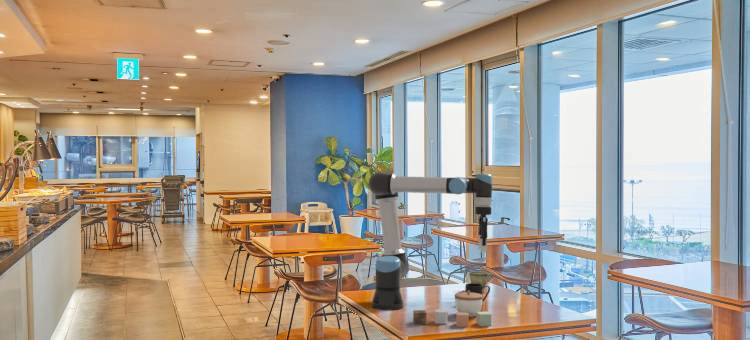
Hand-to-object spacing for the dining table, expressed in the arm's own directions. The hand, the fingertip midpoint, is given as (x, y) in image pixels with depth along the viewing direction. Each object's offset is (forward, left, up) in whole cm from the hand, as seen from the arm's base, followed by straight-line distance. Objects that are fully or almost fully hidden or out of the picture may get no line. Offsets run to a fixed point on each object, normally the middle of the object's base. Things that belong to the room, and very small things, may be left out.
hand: (482, 250), depth 304 cm
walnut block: (-28, -36, -27) cm, 53 cm away
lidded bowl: (-7, -17, -27) cm, 33 cm away
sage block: (-1, -34, -27) cm, 43 cm away
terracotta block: (-10, -37, -27) cm, 47 cm away
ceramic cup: (+1, +43, -27) cm, 51 cm away
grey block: (-19, -33, -27) cm, 47 cm away
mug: (-2, +7, -27) cm, 28 cm away
